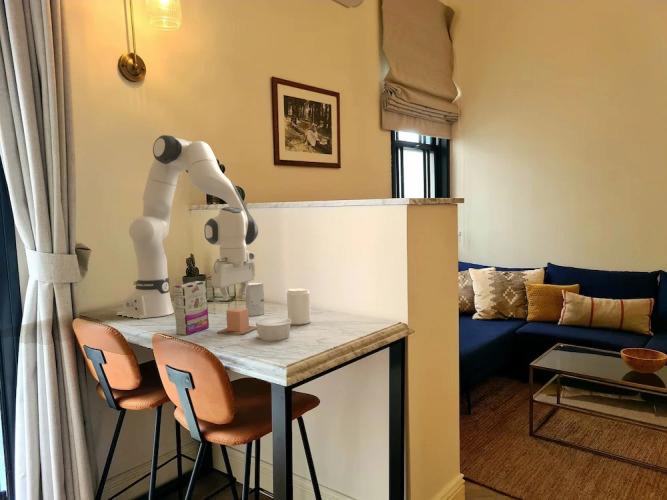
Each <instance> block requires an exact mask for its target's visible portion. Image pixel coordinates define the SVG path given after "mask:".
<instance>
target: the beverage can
mask: <svg viewBox="0 0 667 500" xmlns="http://www.w3.org/2000/svg"><path fill="white" fill-rule="evenodd" d="M287 290H288V291H287V292H286V293H287V294H286V298H287V299H286V300H287V301H286V303H287V318H288V319H290V320H291V325H294V326H296V325H297V326H300V325H302V326H303V325H307V324H309V323H310V322H312V313H311V311H312V310H311V292H310V290H309V288H307V287H291V288H288V289H287Z"/></svg>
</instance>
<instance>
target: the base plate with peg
mask: <svg viewBox="0 0 667 500" xmlns="http://www.w3.org/2000/svg"><path fill="white" fill-rule="evenodd" d="M256 330H257V326H256V325H255V326H254V325H249V328H248V329H245V330H243V331H241V332H240V331H228V330H227V327H226V328H223V329H221V330H219V331H218V330H217V332H216V334H222V335H223V334H224V335H235V336H245V335H247V334H249V333H252V332H253V331H256Z"/></svg>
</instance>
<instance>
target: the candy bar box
mask: <svg viewBox="0 0 667 500" xmlns="http://www.w3.org/2000/svg"><path fill="white" fill-rule="evenodd" d="M172 290H173V302H174V303H173V304H174V305H173V306H174V314H175V316H174V317H175V327H176V328H175V331H176V332H175V333H176V335H178V336H179V335H180V336H190V335H192V334H196V333H199V332H200V331H203V330H206V329H208V328H210V326H209V309H208V296H207V293H208V292H207V282H206V281H204V280H202V281H201V280H200V281H199V280H195V281H191V282H187V283H181V284H177V285H174V286H172Z"/></svg>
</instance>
